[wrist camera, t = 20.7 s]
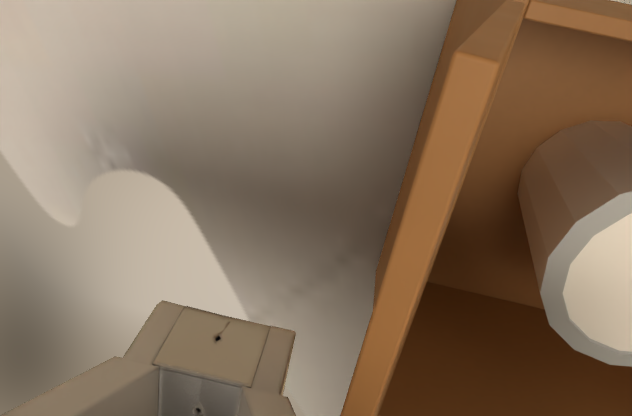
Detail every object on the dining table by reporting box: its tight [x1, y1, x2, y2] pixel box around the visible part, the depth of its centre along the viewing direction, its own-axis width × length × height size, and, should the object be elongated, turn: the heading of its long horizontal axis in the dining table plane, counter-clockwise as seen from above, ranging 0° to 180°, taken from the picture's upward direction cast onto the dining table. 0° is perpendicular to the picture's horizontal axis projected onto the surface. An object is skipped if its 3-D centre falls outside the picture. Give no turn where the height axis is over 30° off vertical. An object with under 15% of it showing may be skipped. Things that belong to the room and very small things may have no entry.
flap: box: [340, 0, 525, 416], centre depth 11 cm, size 14×7×1 cm
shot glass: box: [517, 121, 632, 367], centre depth 18 cm, size 7×7×7 cm
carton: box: [373, 0, 632, 416], centre depth 18 cm, size 14×15×9 cm
